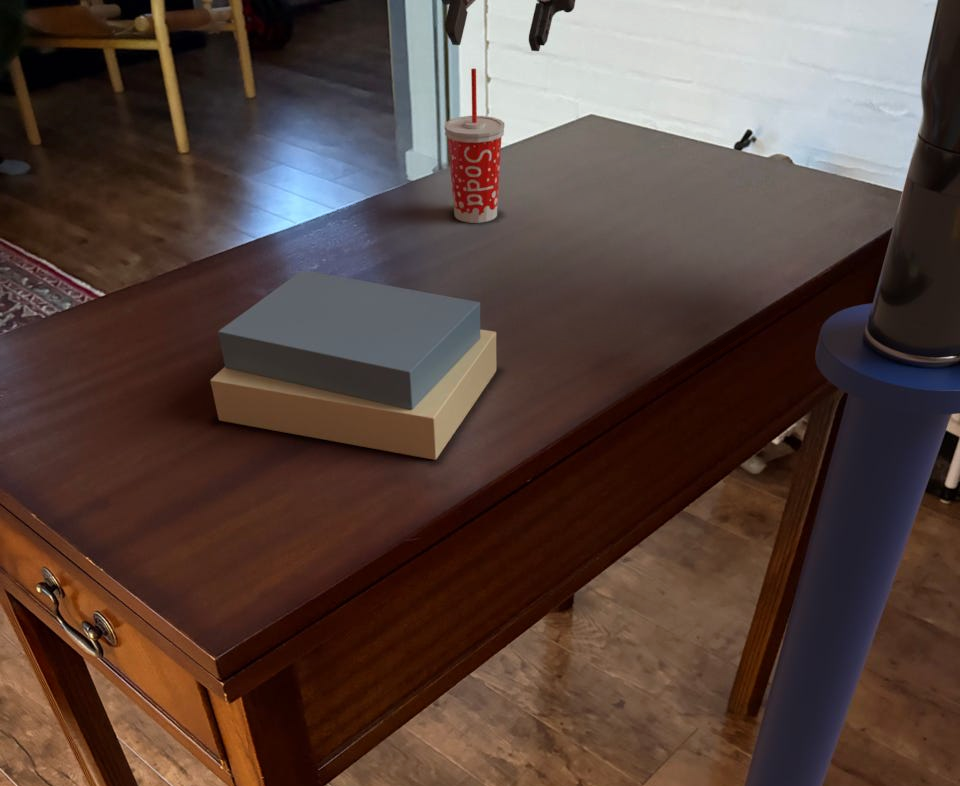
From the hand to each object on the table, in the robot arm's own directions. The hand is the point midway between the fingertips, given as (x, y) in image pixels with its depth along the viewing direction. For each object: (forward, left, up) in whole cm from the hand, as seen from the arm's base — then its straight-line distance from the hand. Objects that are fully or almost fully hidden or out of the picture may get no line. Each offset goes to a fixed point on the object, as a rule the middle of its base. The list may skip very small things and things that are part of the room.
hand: (493, 43), depth 102 cm
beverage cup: (0, +6, -15) cm, 16 cm away
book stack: (-4, +45, -15) cm, 47 cm away
